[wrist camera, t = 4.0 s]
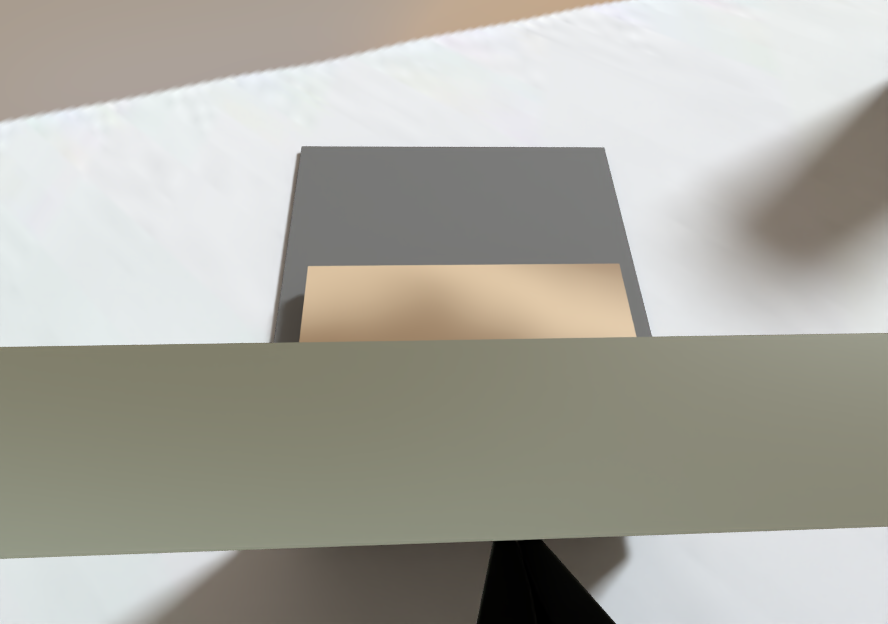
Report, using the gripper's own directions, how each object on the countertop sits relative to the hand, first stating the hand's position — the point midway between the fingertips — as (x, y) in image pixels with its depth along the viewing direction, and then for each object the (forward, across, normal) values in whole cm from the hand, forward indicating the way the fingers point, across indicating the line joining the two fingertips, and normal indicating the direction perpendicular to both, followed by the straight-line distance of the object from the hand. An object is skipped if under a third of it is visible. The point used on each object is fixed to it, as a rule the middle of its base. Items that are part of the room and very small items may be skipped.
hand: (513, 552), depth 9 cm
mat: (+14, 0, -3) cm, 14 cm away
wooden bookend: (+10, 0, +1) cm, 10 cm away
